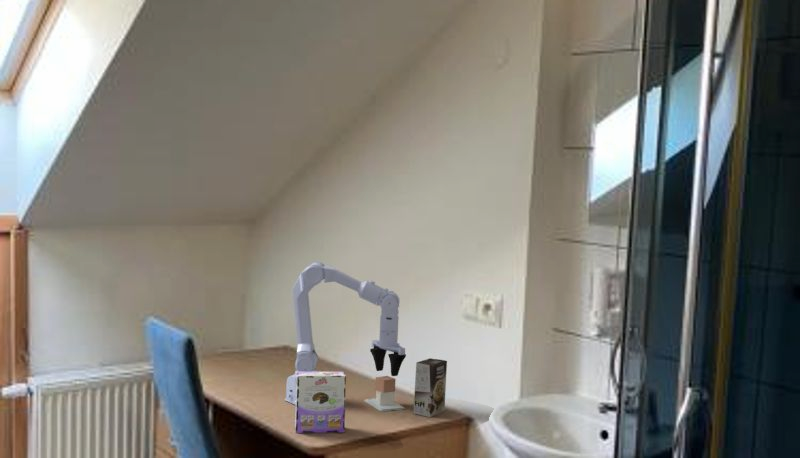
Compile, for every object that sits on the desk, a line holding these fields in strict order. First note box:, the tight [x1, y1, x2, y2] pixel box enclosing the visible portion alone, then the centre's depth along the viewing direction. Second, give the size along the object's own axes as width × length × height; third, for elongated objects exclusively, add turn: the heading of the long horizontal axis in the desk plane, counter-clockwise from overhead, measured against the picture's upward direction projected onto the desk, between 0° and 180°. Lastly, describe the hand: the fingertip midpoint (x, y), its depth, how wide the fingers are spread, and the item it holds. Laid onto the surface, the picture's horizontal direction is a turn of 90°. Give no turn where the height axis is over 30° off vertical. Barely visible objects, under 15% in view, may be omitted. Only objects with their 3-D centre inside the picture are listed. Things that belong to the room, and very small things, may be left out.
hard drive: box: [364, 397, 406, 413], centre depth 269 cm, size 2×8×12 cm
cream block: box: [375, 390, 395, 405], centre depth 269 cm, size 4×4×4 cm
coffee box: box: [413, 357, 448, 418], centre depth 262 cm, size 9×6×16 cm
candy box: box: [294, 370, 347, 434], centre depth 240 cm, size 14×6×16 cm, turn 99°
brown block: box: [374, 375, 396, 393], centre depth 268 cm, size 4×4×4 cm
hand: (386, 373), depth 268 cm, fingers open, 7 cm apart
